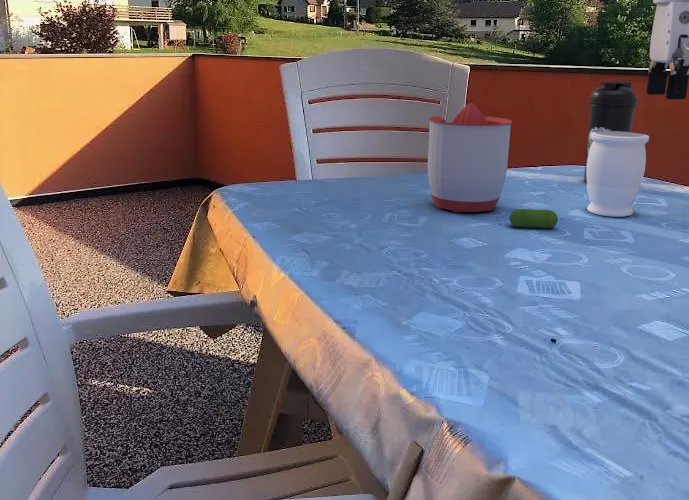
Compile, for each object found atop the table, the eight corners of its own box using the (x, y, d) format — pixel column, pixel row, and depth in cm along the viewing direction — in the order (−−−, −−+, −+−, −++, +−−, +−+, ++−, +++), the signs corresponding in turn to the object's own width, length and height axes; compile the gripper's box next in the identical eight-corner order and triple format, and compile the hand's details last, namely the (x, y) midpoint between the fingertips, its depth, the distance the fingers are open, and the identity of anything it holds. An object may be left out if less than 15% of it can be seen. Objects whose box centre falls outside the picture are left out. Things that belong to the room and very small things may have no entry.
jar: (585, 204, 143) (594, 129, 138) (640, 209, 138) (651, 132, 134) (577, 214, 134) (586, 135, 129) (636, 221, 129) (647, 139, 125)
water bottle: (571, 181, 165) (583, 80, 159) (593, 177, 172) (605, 79, 166) (612, 188, 158) (626, 83, 152) (634, 183, 165) (647, 82, 158)
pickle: (554, 226, 125) (556, 208, 124) (558, 230, 122) (560, 212, 121) (507, 224, 126) (509, 206, 125) (510, 229, 123) (511, 211, 122)
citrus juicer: (476, 195, 149) (483, 98, 143) (520, 214, 133) (530, 106, 128) (408, 198, 144) (412, 98, 139) (445, 218, 129) (452, 107, 123)
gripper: (722, -10, 112) (707, 101, 117) (681, -4, 128) (668, 93, 133) (674, -9, 112) (660, 101, 117) (638, -4, 129) (628, 93, 134)
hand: (665, 96), depth 125 cm, fingers open, 9 cm apart
